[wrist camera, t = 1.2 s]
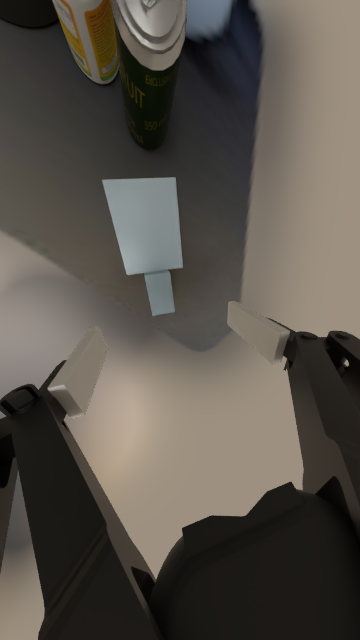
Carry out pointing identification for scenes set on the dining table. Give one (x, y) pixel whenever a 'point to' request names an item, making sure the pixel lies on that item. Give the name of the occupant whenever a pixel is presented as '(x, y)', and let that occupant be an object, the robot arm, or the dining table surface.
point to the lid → (148, 233)
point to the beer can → (149, 62)
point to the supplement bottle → (90, 36)
